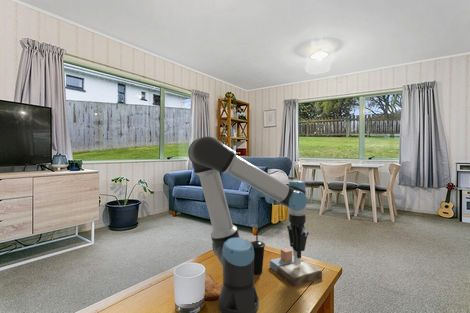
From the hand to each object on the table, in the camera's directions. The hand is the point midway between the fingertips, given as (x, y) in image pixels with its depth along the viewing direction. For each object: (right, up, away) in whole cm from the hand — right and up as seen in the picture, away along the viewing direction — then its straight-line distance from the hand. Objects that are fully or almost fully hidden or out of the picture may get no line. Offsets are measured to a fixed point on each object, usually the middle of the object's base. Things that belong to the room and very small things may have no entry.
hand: (297, 263), depth 114 cm
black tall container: (-19, -5, +2) cm, 20 cm away
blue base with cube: (-4, -5, +8) cm, 10 cm away
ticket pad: (+1, -5, -1) cm, 5 cm away
